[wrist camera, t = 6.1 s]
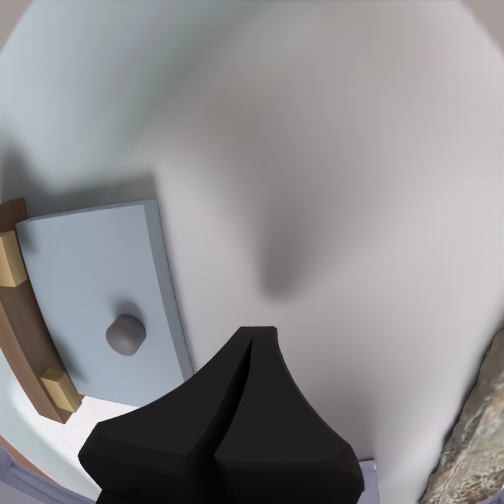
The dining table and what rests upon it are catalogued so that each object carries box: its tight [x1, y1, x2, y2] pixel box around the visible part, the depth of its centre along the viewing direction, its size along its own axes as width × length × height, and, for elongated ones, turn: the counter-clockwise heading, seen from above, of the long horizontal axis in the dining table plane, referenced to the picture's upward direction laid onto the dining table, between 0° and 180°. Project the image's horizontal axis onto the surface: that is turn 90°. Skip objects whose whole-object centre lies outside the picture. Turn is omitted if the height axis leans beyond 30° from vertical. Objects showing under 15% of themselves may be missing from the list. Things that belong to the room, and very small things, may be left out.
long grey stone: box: [419, 327, 504, 504], centre depth 15 cm, size 35×5×10 cm
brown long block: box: [0, 198, 85, 424], centre depth 13 cm, size 4×13×4 cm, turn 5°
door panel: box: [15, 198, 194, 407], centre depth 14 cm, size 8×11×3 cm
